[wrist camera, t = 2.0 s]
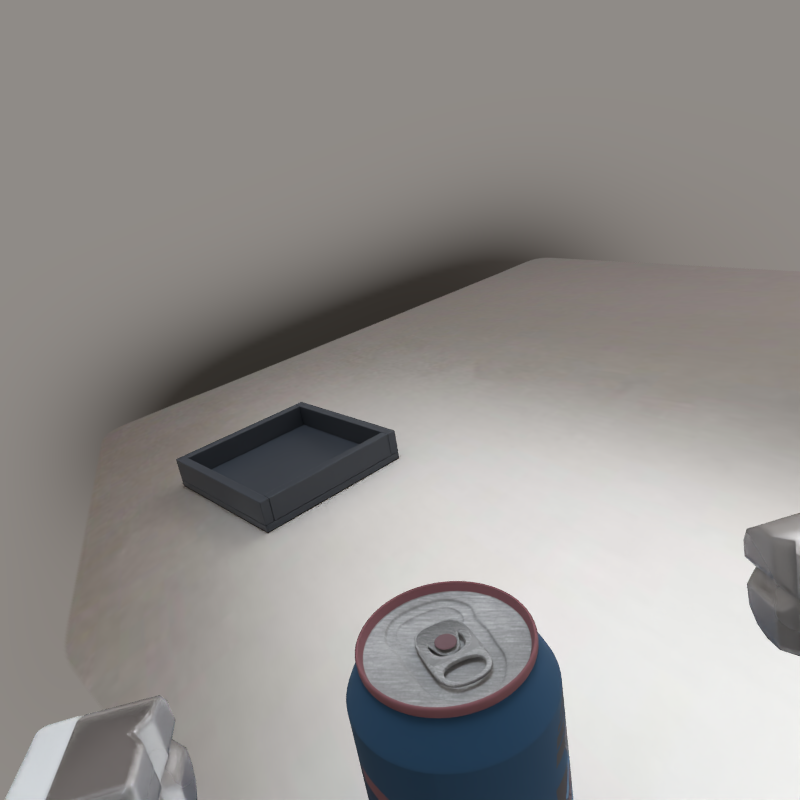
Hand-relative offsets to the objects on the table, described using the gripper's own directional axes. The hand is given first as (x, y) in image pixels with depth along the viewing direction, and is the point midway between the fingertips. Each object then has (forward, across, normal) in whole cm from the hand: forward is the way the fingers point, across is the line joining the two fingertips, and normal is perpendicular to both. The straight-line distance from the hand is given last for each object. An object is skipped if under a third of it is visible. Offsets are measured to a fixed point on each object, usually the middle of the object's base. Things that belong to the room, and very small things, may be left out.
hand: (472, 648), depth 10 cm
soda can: (+12, 0, +20) cm, 23 cm away
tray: (+50, +7, +16) cm, 53 cm away
